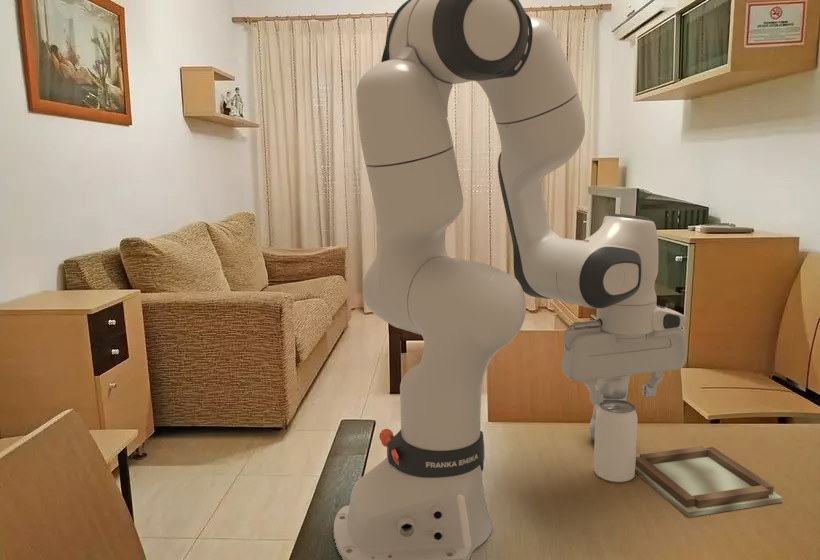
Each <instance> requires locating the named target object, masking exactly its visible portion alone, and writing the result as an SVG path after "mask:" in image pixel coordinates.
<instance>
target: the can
mask: <svg viewBox="0 0 820 560" xmlns="http://www.w3.org/2000/svg"><path fill="white" fill-rule="evenodd" d="M637 438H638V414H637V412H636V405H635V404H634V403H632V402H630V401H629V400H626V401H625V400H620V399H606V400H603V403H602V404H599V407H598V409H597V411H596V420H595V441H594V449H593V450H594V451H593V456H594V457H593V471H594V473H595V474H596V476H597V477H598V478H600V480H601V479H602V480H604V481H606V482H610V483H616V484H617V483H618V484H621V483H626V482H629V481H631V480H632V479H634V477H635V475H636V473H635V462H636V457H637V441H638V440H637Z"/></svg>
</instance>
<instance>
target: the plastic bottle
mask: <svg viewBox="0 0 820 560" xmlns="http://www.w3.org/2000/svg"><path fill="white" fill-rule="evenodd" d="M630 379H631V375H627V376H619V377H611V378H602V379H598V381H597V385H594V387H595V389H596V390H598V391H600V392H601V393H602V394H603V399H602V400H606V399H620V400H625V401H627V399H628V397H627V395H628V390H629V384H630ZM598 407H599V404H596V405H593V409H592V410H593V412H592V416H591V418H590V424H589V431H590V437H591V439H593V441H594V442H595V420H596V411H597V409H598Z"/></svg>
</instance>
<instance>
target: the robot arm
mask: <svg viewBox="0 0 820 560" xmlns="http://www.w3.org/2000/svg"><path fill="white" fill-rule="evenodd" d="M385 37H386V38H385V44H384V45H385V46H384V49H383V54H382V56H381V61H380V63H376V64H375V65H374V66H372V67H371V68H369V69H368V70H367V71H366V72H365V73H364V74H363V75H362V76H361V77H360V80H358V84H357V88H356V109H357V122H358V130H359V138H360V144H361V150H362V154H363V159H364V164H365V169H366V172H367V177H368V181H369V187H370V192H371V195H372V200H373V205H374V211H375V215H376V221H377V249H376V255H375V259H374V261H373V262H371V264H370V266H369V267H368V269H367V271H366V273H365V276H364V279H363V284H362V292H363V299H364V302H365V304H366V306H367V307H368V309H369V310H370V311H371V312H372V313H373V314H374V315H375V316H377V317H378V318H379V319H381V320H383V321H384V322H386V323H387V324H390V326H392V327H394V328H397V329H401V330H403V331H406V332H411V333H414V334H417V335H419V336H422V338H423V339H422V340H423V352H422V357H421V360H420V362H419V363H417V364H416V365H414V366H413V367H411V368H410V369H409V370H408V371H407V372H406V373H405V374H404V375H403V377H402V379H401V381H400V384H399V394H400V395H399V399H400V407H399V408H400V430H399V431H398V432H396V434H395V435H394V433H393V431H392V430H391V429H390V428H384V429H382V430H381V431H380V432H379V440H380V442H381V445H382V446H384V447H386V458H385V459H384V460H382V461H381V462H380V463H378V464H377V465H376V466H374V467H373V468H372V469H370V470H369V471H368V472H367V473H365V474H364V475H362V476H361V477H359V478H358V479H357V480H356V481H355V483H354V486H353V488H352V489H351V494H350V498H349V504H348V505H344V506H342V507H341V508H340V509H339V511H337V513H336V515H335V518H334V521H333V533H334V534H333V540H334V539H335V541H334V544H335V543H336V545H335V548H336V547H337V548H336V550H337V549H338V551H339V553H340V555H341V556H342V558H341V560H470V558H471V557H472V555H473V552H474V551H475V550H476V549H477V548H479V547H480V546H482V544H484V542H486V541H487V539H488V538H489V537H490V535H491V532H492V529H493V523H492V520H491V517H490V514H489V509H488V505H487V502H486V495H485V489H484V482H483V474H482V473H483V470H484V463H485V441H484V440H485V439H484V432H483V431H482V430H481V419H482V418H481V413H482V411H481V409H482V392H483V390H482V389H483V383H484V378H485V375H486V372H487V368H488V366H489V365H490V363H491V360H492V359H493V357H494V356H495V355H496V354H497V353H498V352H499V351H500V350H501V349H503V348H505V347H506V346H508V345H509V344H510V343H511V342H512V341H513V340H514V339H515V338H516V337H517V336H518V334H519V332H520V331H521V328H522V327H523V324H524V321H525V317H526V312H527V311H526V310H527V304H526V303H527V302H526V301H527V300H526V297H525V294H526V295H527V296H530V297H533V298H539V299H548V300H554V301H559V302H562V303H566V304H571V305H576V306H581V307H584V308H588V309H596V319H590V320H587V321H574V322H572V324H571V325H569V326H568V327H567V328H566V329H565V330H564V332H563V345H564V346H563V351H562V360H561V371H562V373H563V374H564V376H566V378H568V379H569V380H571V381H572V382H575V383H576V382H583V384H584V385H585V388H586V389H587V391H588V393H589V395H588V396H589V397H588V399H589V403H590V404H592V405H593V406H594V405H596V404H602V403H603V400H602V399H603V394H602V393H601V392H600V391H598V390H596V389H595V385H597V381H598V379H602V378H611V377H619V376H627V375H630V376H633V375H640V374H650V376H649V378H648V380H647V382H646V383H644V384H642V385H641V386H642V387H641V388H642V390H641V395H643V396H644V397H645V398H654V397H656V396H657V388H658V387H659V385H660V384H661V382H662V380H664V377H665V376H664V375H665V372H666V371H675V370H681V369H682V368H683V367H684V365H685V364H686V363H687V358H688V357H687V356H688V343H687V342H688V340H687V334H686V331H685V330H684V329H683V328H684V327H685V325H686V321H687V319H686V315H684V314H682V313H681V312H679V311H676V310H673V309H672V308H669V307H666V306H662V305H659V304H657V300H658V298H657V297H658V296H657V293H656V289H655V288H656V287H655V286H656V285H655V283H656V280H657V277H658V273H659V253H660V252H659V237H658V232H657V231H658V230H657V228H656V227H657V226H656V224H655V222H654V221H653V220H651V219H650V218H649V217H646V216H642V215H641V216H639V215H632V214H631V215H630V214H620V213H611V214H607V215H605V216H604V217H603V220H602V223H601V226H600V227H599V228H598V229H597V231H595V232H594V233H593V234H591V235H590V236H589V237H586V238H584V240H580V239H572V238H566V237H565V238H564V237H562V236H560V235H558V234H557V233H556V232H554V230H553V229H552V228H551V226H550V224H549V218H548V214H547V208H546V202H545V197H544V193H543V192H544V191H543V180H544V177H545V176H547V175H549V174H551V173H552V172H554V171H556V170H557V169H559V168H560V167H562V166H564V164H566V163H567V162H568V161H569V160H570V159H572V157H574V156H575V154H576V153H578V152H577V151H578V150H579V148H580V147H581V144H582V142H583V140H584V138H585V133H586V120H585V113H584V108H583V105H582V102H581V98H580V95H579V92H578V89H577V85H576V81H575V78H574V75H573V73H572V70H571V67H570V63H569V62H568V59H567V57H566V54H565V52H564V50H563V48H562V45H561V43H560V41H559V39H558V37H557V35H556V34H555V32H554V30H553V28H552V27H551V25H550V24H549V23H548V22H547V21H546V20H544V19H542V18H540V17H537V16H529V15H528V13H526V12H525V9H524V7H523V5H522V3H521V2H520V0H406V1H404V3H402V5H401V6H399V7H398V8H397V10H395V13H394V14H393V16H392V17H391V20H390V21H389V24H388V28H387V32H386V36H385ZM469 82H476V83H477V84H478V85H479V86H480V87H481V89H482V90H483V91H484V93H485V96H486V98H487V99H488V100H489V105H490V108H491V113H492V115H493V118H494V121H495V124H496V128H497V132H498V135H499V140H500V141H499V142H500V147H501V148H500V153H499V155H498V160H497V174H498V180H499V186H500V191H501V195H502V201H503V205H504V209H505V210H504V211H505V215H506V219H507V223H508V228H509V232H510V237H511V242H512V251H513V252H512V256H513V259H512V261H513V274H514V276H513V275H512V274H511V273H508V272H505V271H503V270H501V269H500V268H497V267H495V266H492V265H490V264H487V263H486V262H480V261H474V260H468V259H461V258H455V257H450V256H449V254H448V252H447V250H446V233H447V228H448V227H450V225H452V224H453V223H454V222H455V221H456V220H457V218H459V215H460V214H461V212H462V209H463V206H464V197H463V196H464V195H463V190H462V185H461V179H460V175H459V169H458V165H457V158H456V154H455V153H456V152H455V148H454V142H453V138H452V133H451V132H452V131H451V127H450V124H449V121H448V120H449V119H448V116H449V115H448V108H449V107H448V106H449V105H448V104H449V100H450V95H451V91H452V88H453V87H454V85H457V84H465V83H469ZM338 551H337V552H338ZM339 553H338V554H339ZM340 555H339V556H340Z"/></svg>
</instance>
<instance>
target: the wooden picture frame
mask: <svg viewBox="0 0 820 560" xmlns="http://www.w3.org/2000/svg"><path fill="white" fill-rule="evenodd" d="M635 475H637V476H639V477H640V479H642V480H643V481H645V482H646V483H647V484H648V485H649V486H650V487H651V488H653V490H655V491H656V492H658V493H659V494H660V495H661V496H662V497H663V498H665V499H666V500H667V501H668V502H669V503H670V504H671V505H673V506H674V507H675V508H676V509H677V510H679V511H680V512H681V513H682V514H683V515H684V516H685V517H687V518H693V517H701V516H706V515H713V514H718V513H723V512H730V511H737V510H743V509H750V508H755V507H761V506H768V505H775V504H780V503H781V504H782V503H783V497H782V496H781V495H780V494H778V493H776V492H775V491H774V489H775V487H774V485H772V484H771V483H769V482H768V481H766V480H765V479H763V478H761V477H760V476H758V475H757V474H755V473H754V472H752V471H751V470H750V469H748V468H746V467H744V465H742V464H740V463H738V462H737V461H735V460H733V459H732V458H731V457H729V456H727V455H726V454H725V453H723V452H721V451H719V450H718V449H717V448H715V447H714V446H709V447H705V446H702V445H700V446H695V447H694V446H693V447H692V446H691V447H686V448H678V449H670V450H664V451H654V452H649V453H641V454H639V456H636V462H635Z"/></svg>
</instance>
